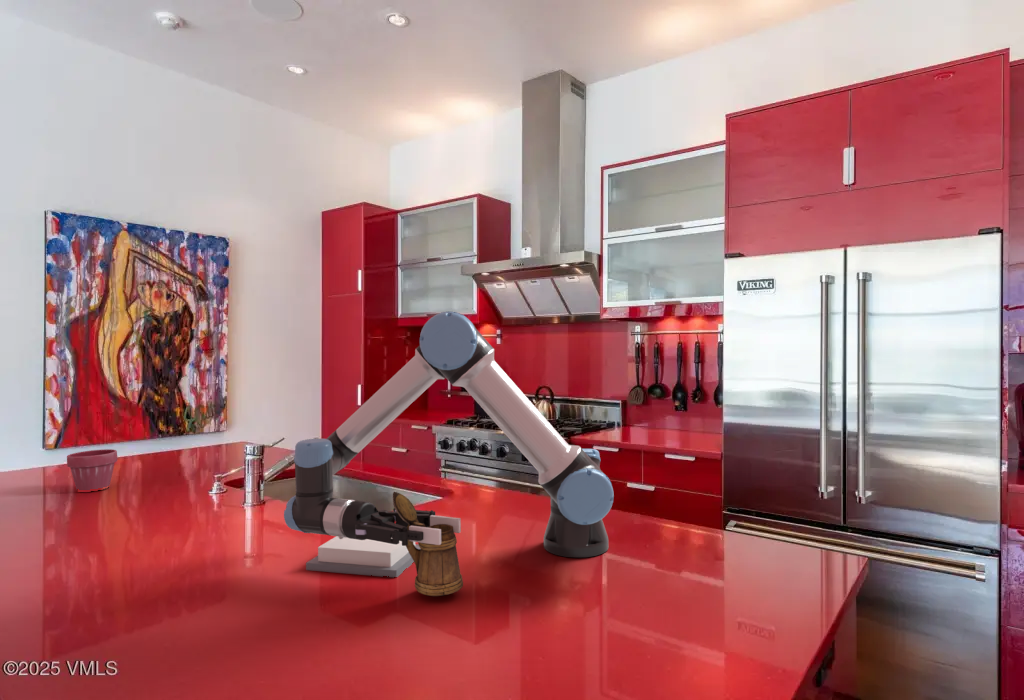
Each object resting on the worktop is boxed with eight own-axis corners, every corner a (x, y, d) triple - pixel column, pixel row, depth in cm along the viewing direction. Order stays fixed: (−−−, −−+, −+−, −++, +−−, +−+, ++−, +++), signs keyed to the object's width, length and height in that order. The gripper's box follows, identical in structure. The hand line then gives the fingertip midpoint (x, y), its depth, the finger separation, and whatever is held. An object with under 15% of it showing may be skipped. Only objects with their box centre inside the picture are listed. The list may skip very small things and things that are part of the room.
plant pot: (56, 494, 200) (55, 456, 200) (92, 484, 214) (91, 448, 213) (93, 495, 197) (93, 456, 197) (127, 485, 211) (127, 449, 211)
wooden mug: (404, 573, 121) (401, 485, 120) (468, 578, 118) (466, 487, 117) (385, 592, 112) (383, 497, 111) (454, 598, 109) (452, 500, 109)
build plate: (426, 551, 139) (425, 532, 139) (396, 577, 123) (396, 555, 123) (344, 545, 144) (344, 526, 144) (306, 569, 128) (305, 548, 128)
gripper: (381, 524, 131) (474, 535, 122) (318, 553, 113) (422, 569, 104) (380, 489, 131) (473, 498, 122) (317, 513, 113) (421, 526, 104)
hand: (450, 531), depth 113 cm, fingers closed on wooden mug, 7 cm apart
